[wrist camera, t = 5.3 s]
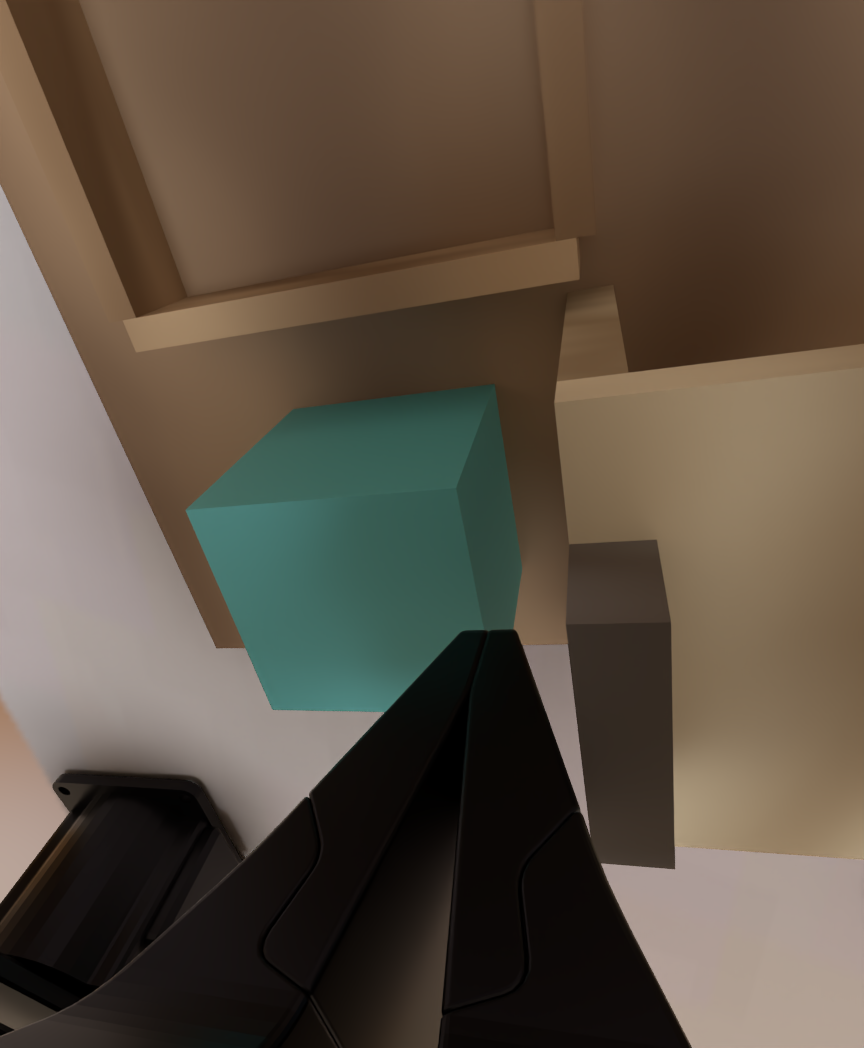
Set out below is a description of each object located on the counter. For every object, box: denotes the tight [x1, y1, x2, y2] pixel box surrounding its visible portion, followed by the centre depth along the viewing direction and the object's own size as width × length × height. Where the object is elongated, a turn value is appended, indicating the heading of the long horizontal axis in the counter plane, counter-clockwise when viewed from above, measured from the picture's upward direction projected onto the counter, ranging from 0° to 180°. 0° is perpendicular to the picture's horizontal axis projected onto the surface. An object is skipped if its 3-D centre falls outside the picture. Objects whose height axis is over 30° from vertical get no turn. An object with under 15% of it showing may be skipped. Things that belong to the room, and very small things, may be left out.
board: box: [0, 0, 864, 648], centre depth 10 cm, size 26×17×2 cm, turn 102°
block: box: [186, 384, 522, 712], centre depth 13 cm, size 4×4×4 cm
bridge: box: [554, 285, 864, 869], centre depth 9 cm, size 7×8×7 cm
